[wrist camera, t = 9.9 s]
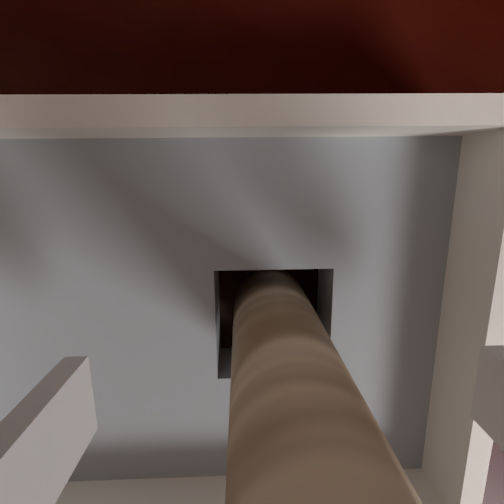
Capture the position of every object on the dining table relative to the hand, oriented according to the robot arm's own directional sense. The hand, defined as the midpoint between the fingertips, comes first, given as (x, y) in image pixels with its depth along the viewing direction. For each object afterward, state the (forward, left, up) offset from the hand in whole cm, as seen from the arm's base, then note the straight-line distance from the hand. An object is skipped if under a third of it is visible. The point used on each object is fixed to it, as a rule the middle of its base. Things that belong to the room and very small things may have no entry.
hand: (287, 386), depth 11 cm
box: (0, -3, -8) cm, 8 cm away
